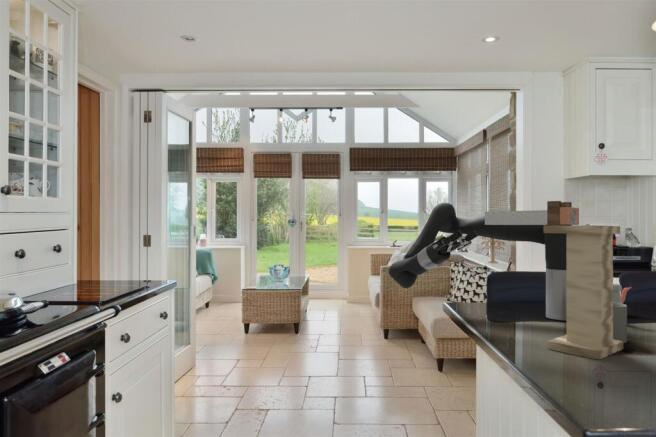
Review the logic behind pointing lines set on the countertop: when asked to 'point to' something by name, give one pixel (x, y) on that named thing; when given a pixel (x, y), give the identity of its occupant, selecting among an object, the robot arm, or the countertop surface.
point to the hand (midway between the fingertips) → (468, 233)
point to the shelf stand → (586, 287)
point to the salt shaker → (617, 293)
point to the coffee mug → (620, 322)
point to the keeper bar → (531, 217)
